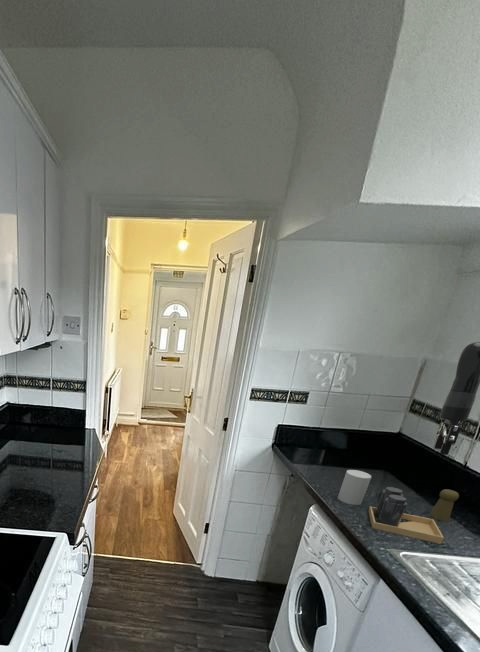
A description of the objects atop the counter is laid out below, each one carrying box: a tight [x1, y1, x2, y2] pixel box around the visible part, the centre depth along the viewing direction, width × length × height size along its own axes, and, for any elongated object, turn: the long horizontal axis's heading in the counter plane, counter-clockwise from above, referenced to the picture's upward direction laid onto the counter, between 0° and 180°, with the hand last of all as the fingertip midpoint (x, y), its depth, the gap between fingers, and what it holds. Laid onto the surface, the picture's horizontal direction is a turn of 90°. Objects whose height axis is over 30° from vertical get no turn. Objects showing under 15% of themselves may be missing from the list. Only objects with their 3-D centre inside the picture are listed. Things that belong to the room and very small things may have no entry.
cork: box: [428, 488, 460, 523], centre depth 148 cm, size 6×6×11 cm
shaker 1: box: [373, 486, 404, 519], centre depth 145 cm, size 6×6×11 cm
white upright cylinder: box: [337, 469, 372, 506], centre depth 157 cm, size 8×8×12 cm
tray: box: [367, 506, 445, 545], centre depth 141 cm, size 19×15×3 cm
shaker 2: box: [376, 495, 408, 527], centre depth 138 cm, size 6×6×11 cm
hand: (440, 451), depth 145 cm, fingers open, 8 cm apart
